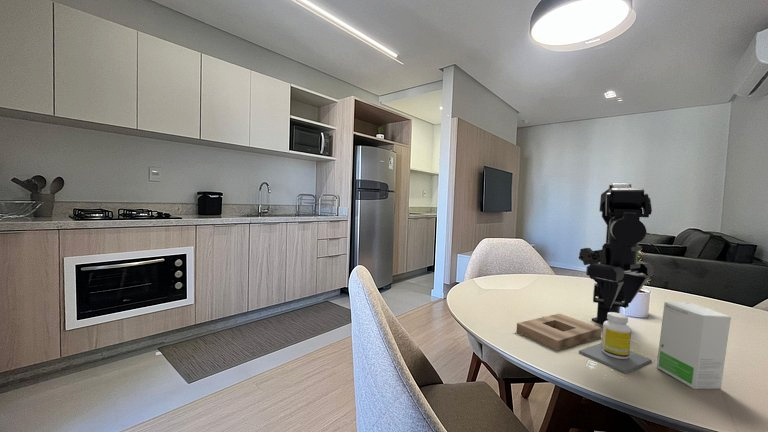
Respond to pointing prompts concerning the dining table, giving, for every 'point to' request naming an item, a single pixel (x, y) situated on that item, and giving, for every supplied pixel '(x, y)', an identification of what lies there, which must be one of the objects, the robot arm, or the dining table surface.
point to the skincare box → (693, 344)
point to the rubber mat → (619, 364)
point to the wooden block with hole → (558, 331)
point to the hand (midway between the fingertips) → (618, 304)
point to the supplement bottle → (616, 336)
